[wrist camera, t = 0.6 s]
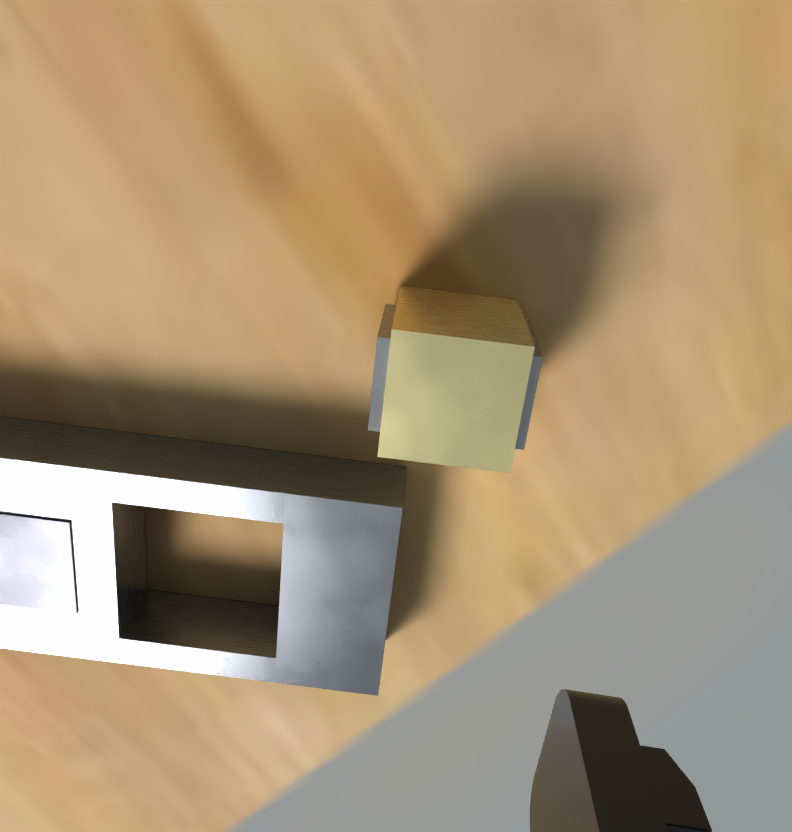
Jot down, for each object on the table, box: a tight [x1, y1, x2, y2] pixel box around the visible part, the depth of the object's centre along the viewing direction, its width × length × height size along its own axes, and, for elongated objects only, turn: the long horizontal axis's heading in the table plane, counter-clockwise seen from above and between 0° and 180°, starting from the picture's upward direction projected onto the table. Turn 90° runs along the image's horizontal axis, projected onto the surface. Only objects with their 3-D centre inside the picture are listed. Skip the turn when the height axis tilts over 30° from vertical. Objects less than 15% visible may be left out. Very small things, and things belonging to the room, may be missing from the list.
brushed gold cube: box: [368, 286, 543, 473], centre depth 24 cm, size 4×5×5 cm
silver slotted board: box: [0, 417, 406, 696], centre depth 28 cm, size 8×22×3 cm, turn 84°
